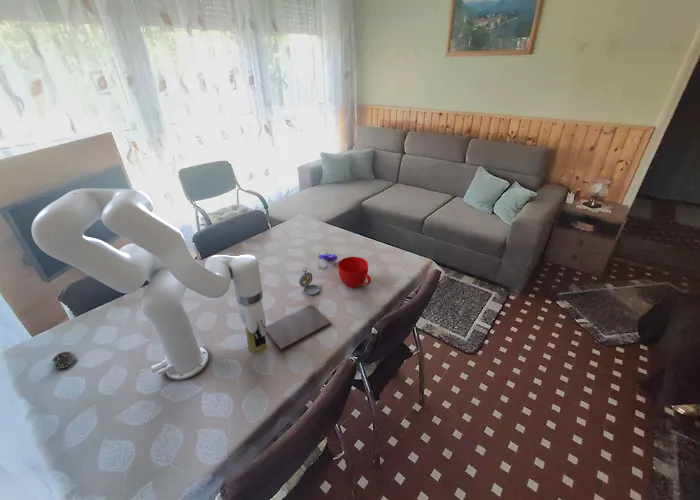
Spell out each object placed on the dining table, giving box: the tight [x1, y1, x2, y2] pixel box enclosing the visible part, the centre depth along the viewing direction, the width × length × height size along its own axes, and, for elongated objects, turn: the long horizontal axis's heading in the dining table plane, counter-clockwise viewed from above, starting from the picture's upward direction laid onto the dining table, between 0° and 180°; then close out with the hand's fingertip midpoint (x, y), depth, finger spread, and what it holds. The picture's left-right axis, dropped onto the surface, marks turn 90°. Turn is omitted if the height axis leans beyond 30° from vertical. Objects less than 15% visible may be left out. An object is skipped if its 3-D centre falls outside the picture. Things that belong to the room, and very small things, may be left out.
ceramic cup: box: [337, 256, 372, 289], centre depth 137 cm, size 13×17×10 cm
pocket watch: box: [298, 267, 320, 296], centre depth 135 cm, size 8×8×10 cm
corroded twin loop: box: [51, 351, 74, 370], centre depth 104 cm, size 5×8×1 cm, turn 49°
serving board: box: [264, 304, 330, 352], centre depth 118 cm, size 20×13×1 cm, turn 129°
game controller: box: [317, 248, 338, 269], centre depth 154 cm, size 10×8×10 cm
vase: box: [245, 327, 268, 355], centre depth 104 cm, size 6×6×14 cm
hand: (256, 338), depth 105 cm, fingers closed on vase, 5 cm apart
